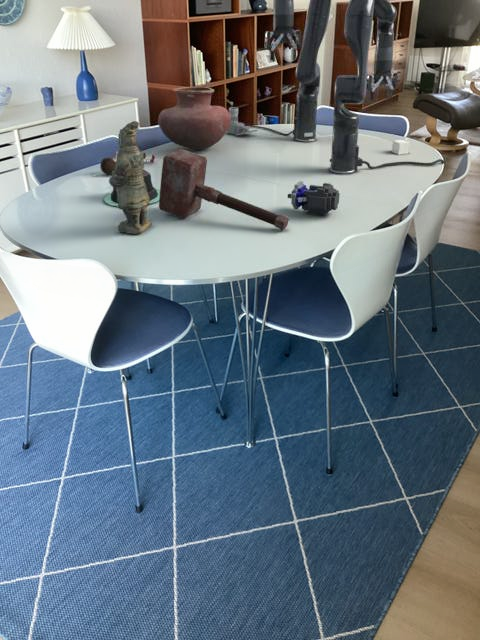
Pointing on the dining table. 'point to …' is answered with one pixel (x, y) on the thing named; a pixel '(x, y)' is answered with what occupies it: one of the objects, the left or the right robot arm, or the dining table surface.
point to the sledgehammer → (200, 190)
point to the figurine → (109, 163)
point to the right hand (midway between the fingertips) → (282, 60)
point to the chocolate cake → (152, 192)
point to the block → (400, 147)
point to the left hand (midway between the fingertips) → (380, 99)
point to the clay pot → (194, 119)
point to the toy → (315, 198)
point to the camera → (237, 124)
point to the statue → (131, 182)
